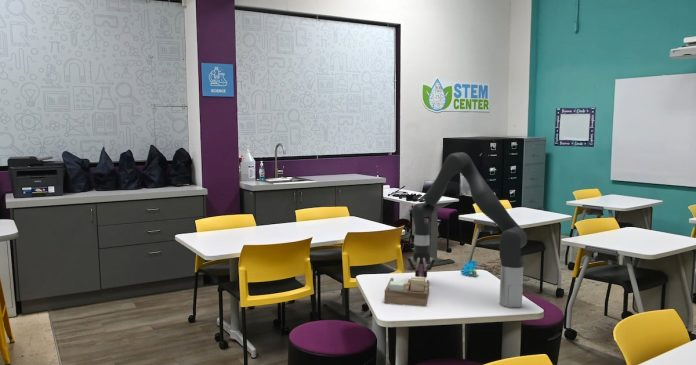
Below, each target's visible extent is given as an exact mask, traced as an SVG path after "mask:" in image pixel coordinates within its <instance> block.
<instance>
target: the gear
mask: <svg viewBox="0 0 696 365" xmlns="http://www.w3.org/2000/svg"><path fill="white" fill-rule="evenodd" d="M477 266H478V262H477V261H476V260H473V259H472V260H468V261H467V263H463V266H462V267H461V270H460V273H461V275H462V276H468V275H469V276H471V274H473V275H475V276H476V277H479V275H478V274H477V268H478V267H477Z"/></svg>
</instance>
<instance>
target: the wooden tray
mask: <svg viewBox="0 0 696 365" xmlns="http://www.w3.org/2000/svg"><path fill="white" fill-rule="evenodd" d="M394 280H395V279H394V277H390V279H389V281H388V283H387V286H386V287H385V289H384V302H383V303H384V304H390V303H393V305H403V304H405V305H406V306H417V307H419V306H420V307H427V304H428V299H429V294H430V280H429V279H427V280H426V281H425V289H424V292H422V291H410V286H411V278H408V279H407V283H405V284H404V291H393V290H389V284H390V282H391V281H394Z"/></svg>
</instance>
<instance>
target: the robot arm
mask: <svg viewBox="0 0 696 365" xmlns="http://www.w3.org/2000/svg"><path fill="white" fill-rule="evenodd" d="M456 174H461V176H463V178H464V179H465V180H466V182H467V183H468V186H469V191H470V194H471V198H472V200H473V202H474V203H475V206H477V208H478V209H479V211H481V212H482V214H484V216H486V217H487V218H488V219H490V220H491V221H492V222H494V223H495V224H496V226H498V228H499V230H500V231H501V232H502V233H501V234H500V238H499V259H500V277H499V278H500V284H499V305H501V306H503V307H507V308H509V309H510V308H522V307H523V292H524V291H523V290H524V289H523V288H524V286H523V281H524V280H523V278H524V260H523V259H522V256H521V249H522V248H524V247H525V246H526V245H527V243H528V238H527V237H528V236H527V234H526V232H525V231H524V230H523V228H522V227H521V226H520V225H519V224H518V223H517V221H515V219H514V218H513V217H512V216H511V215H510V214H509V212H508V211H507V209H506V208H505V206H504V205H503V204H502V202H501V201H500V199H499V198H498V197H497V195H496V193H495V192H494V191H493V190H492V188H491V187H490V185H489V184H487V182H486V180H485V179H484V178H483V176H482V175H481V173H480V172H479V170H478V169H477V167H476V165H475V163H474V162H473V160H472V158H471V156H470V155H468V153H466V152H459V151H458V152H454V153H450V154H448V156H447V157H446V158H445V160H444V163H443V164H442V166H441V168H440V170H439V173H438V174H437V176H436V178H435V180H434V182H433V183H432V184H431V186H430V188H429V189H428V190H427V191H426V193H425V194H424V196H423V200H424V202H422V203H421V202H420V203H416V204H414V205H413V206H412V210H411V215H412V220H413V223H414V237H413V238H414V239H413V243H414V244H413V255H412V256H408V258H407V261H408V263H409V265H410V268H411V270H414V273H415V274H414V277H418V266H419V264H424V277H425V279H426V278H427V277H428V271H431V269H432V268H433V266H434V263H435V261H436V258H434V257H431V255H430V243H431V242H430V224H429V222H427V221H425V218H429V217H430V216H431V215H433V213H434V212H435V209H436V207H437V204H438V202H439V201H441V198H442V197H443V196H444V194H445V192H446V190H447V185H448V183H449V182H450V180H451V179H452V178H453V177H454V176H455V175H456ZM413 261H415V263H416V264H415V265H414V262H413ZM428 262H430V264H429V266H428V264H427V263H428Z"/></svg>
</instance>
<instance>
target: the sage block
mask: <svg viewBox="0 0 696 365" xmlns="http://www.w3.org/2000/svg"><path fill="white" fill-rule="evenodd" d="M404 284H406V283H405V281H401V280H400V281H399V280H393V281H391V282H390V284H389V290H393V291H404Z"/></svg>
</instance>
